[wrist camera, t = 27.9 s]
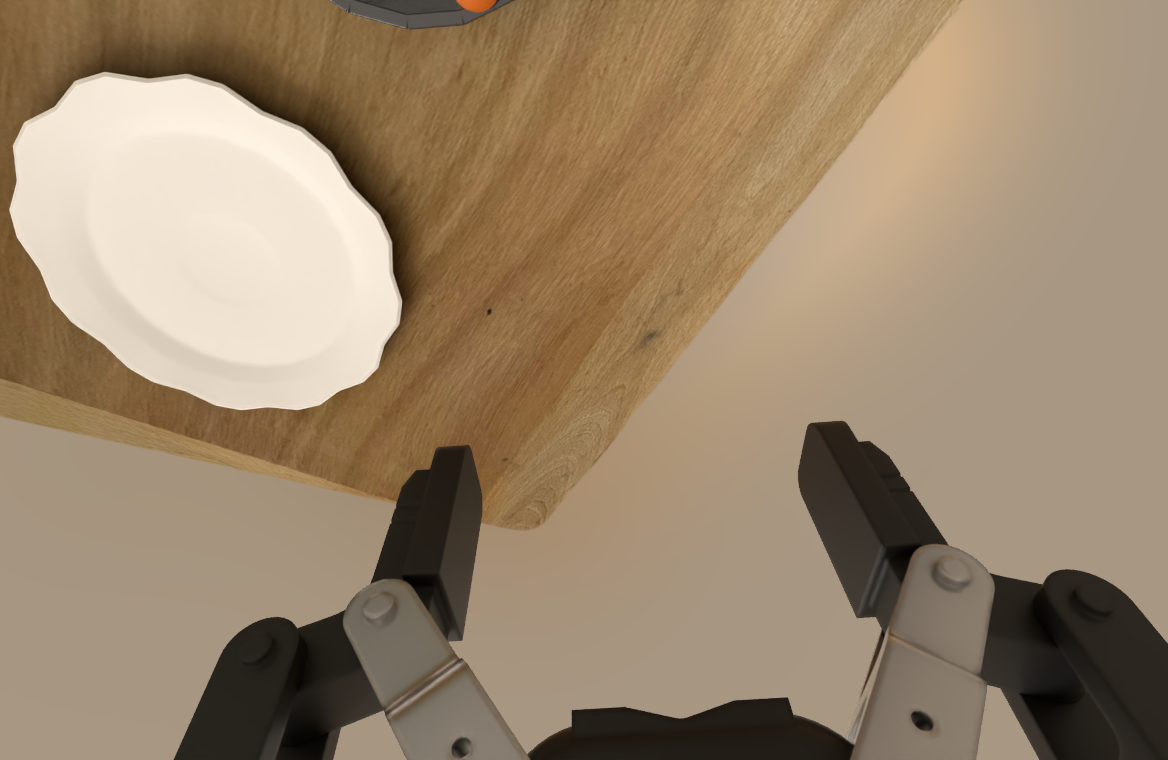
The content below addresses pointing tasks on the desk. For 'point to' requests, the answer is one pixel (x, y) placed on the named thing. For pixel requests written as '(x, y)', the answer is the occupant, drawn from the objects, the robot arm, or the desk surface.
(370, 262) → the plate
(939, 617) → the robot arm
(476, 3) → the carrot
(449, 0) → the pot
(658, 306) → the desk surface
